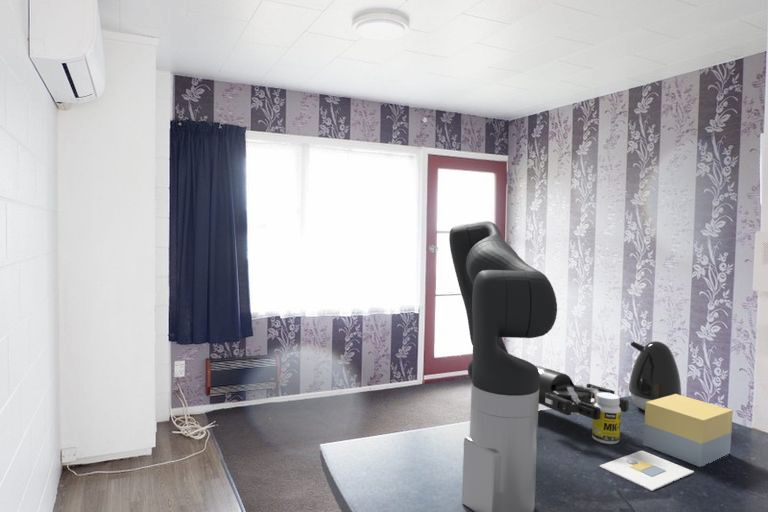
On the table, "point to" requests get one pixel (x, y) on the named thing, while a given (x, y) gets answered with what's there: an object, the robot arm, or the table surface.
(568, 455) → the table surface
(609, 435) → the supplement bottle
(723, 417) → the yellow and grey block
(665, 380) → the pump dispenser
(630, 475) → the page
